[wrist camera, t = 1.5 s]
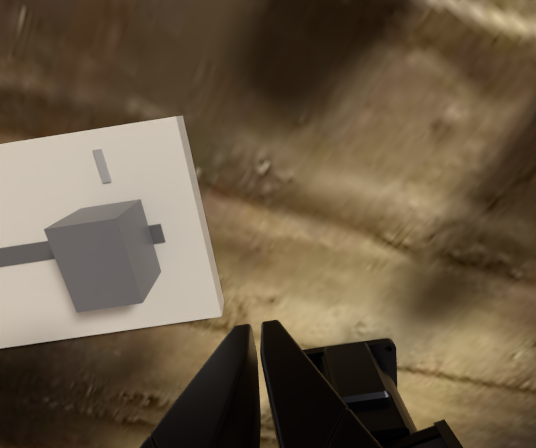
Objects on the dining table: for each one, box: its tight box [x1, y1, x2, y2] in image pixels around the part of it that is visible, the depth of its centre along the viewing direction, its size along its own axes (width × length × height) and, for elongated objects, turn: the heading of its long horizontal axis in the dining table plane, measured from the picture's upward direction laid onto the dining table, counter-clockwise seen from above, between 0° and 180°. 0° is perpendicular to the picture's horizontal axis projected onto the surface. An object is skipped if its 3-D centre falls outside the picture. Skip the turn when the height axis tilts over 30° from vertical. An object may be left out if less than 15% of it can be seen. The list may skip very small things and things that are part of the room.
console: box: [0, 116, 224, 348], centre depth 18 cm, size 11×20×2 cm, turn 98°
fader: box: [44, 199, 161, 313], centre depth 16 cm, size 4×3×3 cm
